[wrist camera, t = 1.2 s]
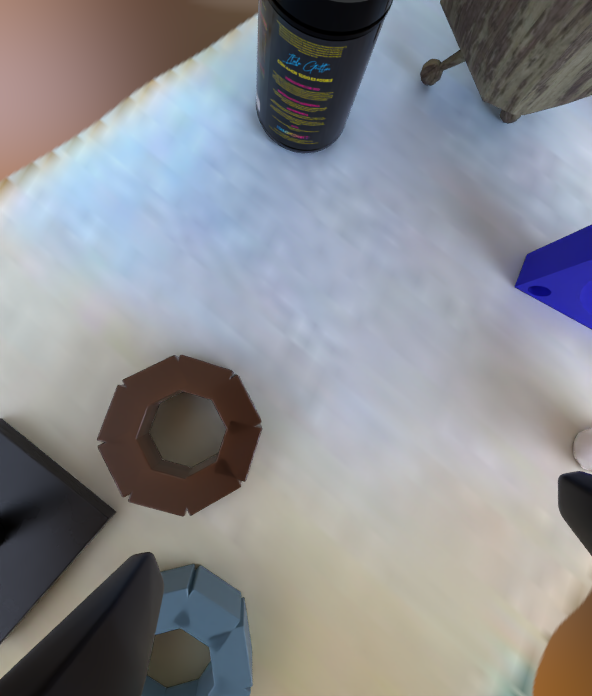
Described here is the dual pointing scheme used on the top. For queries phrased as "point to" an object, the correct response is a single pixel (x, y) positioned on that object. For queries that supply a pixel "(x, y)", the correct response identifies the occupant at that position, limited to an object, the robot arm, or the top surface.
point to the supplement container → (312, 66)
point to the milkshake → (583, 449)
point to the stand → (38, 524)
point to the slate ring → (207, 632)
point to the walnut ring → (142, 454)
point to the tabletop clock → (521, 52)
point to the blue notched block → (562, 275)
